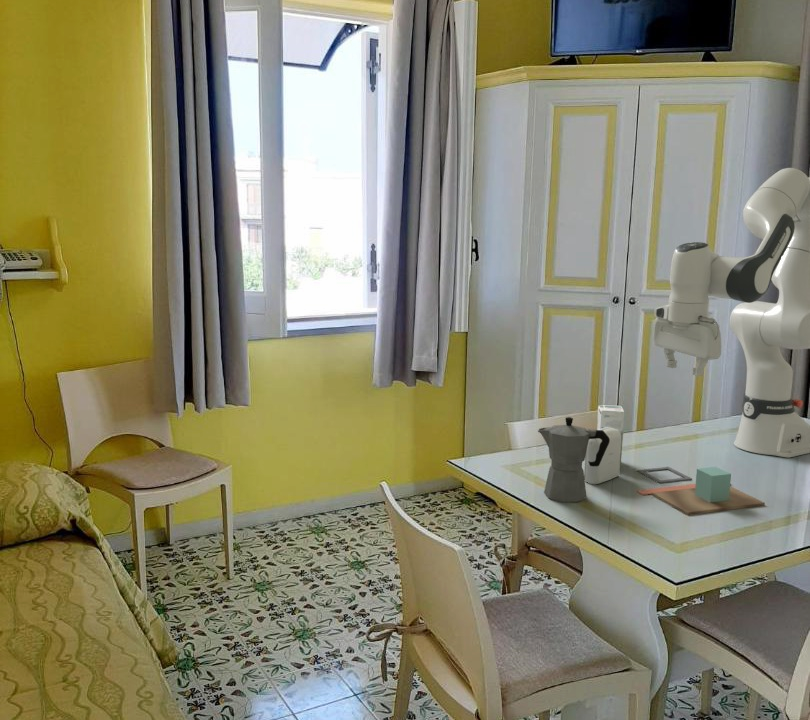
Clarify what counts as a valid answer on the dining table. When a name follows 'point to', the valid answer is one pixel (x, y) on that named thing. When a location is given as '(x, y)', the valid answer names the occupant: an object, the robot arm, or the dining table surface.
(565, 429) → the coffeepot
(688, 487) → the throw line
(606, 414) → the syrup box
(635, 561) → the dining table surface
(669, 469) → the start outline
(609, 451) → the photo printer
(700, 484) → the teal block
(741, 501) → the board
